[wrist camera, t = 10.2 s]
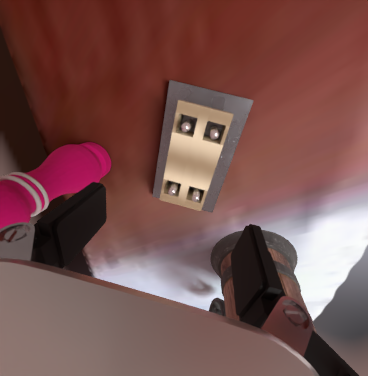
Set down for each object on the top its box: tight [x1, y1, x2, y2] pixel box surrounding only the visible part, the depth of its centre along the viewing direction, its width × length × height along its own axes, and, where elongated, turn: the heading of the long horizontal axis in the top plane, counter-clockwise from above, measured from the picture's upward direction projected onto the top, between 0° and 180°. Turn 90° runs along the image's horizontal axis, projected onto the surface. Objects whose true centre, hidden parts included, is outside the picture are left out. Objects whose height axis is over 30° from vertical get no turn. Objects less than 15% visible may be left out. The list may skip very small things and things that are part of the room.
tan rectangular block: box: [160, 100, 234, 211], centre depth 24 cm, size 14×7×4 cm, turn 167°
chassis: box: [152, 80, 254, 212], centre depth 24 cm, size 18×11×6 cm, turn 168°
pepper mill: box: [0, 142, 111, 229], centre depth 21 cm, size 7×7×20 cm
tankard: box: [209, 230, 317, 333], centre depth 28 cm, size 24×17×20 cm
